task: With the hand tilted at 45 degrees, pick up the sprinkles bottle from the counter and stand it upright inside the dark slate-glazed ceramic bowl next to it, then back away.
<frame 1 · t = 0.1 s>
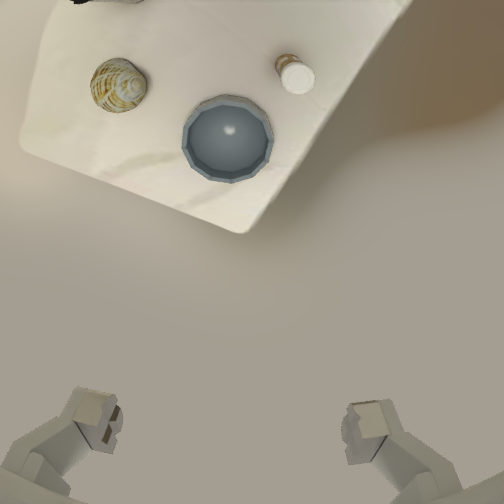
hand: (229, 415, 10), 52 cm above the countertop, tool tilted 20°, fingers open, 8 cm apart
sprinkles bottle: (288, 65, 46), on the countertop
slate bowl: (228, 135, 55), on the countertop
seashell: (125, 81, 48), on the countertop
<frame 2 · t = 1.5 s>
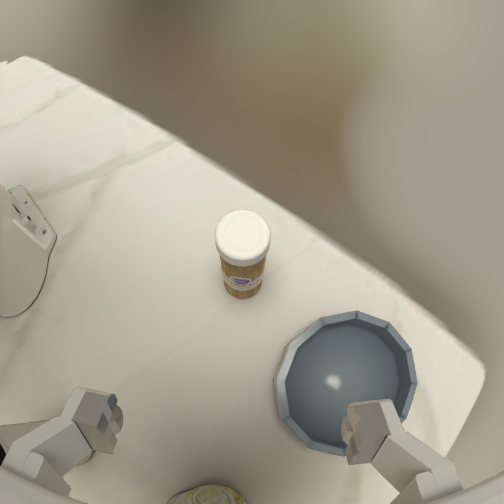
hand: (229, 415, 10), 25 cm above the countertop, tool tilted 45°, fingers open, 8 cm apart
sprinkles bottle: (243, 281, 38), on the countertop
slate bowl: (341, 383, 33), on the countertop
travel mug: (76, 440, 30), on the countertop
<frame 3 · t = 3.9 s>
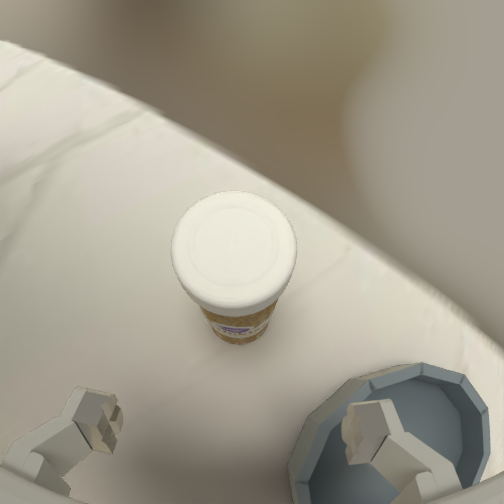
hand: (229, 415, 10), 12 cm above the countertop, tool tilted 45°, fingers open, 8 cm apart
sprinkles bottle: (239, 315, 24), on the countertop
slate bowl: (387, 461, 19), on the countertop
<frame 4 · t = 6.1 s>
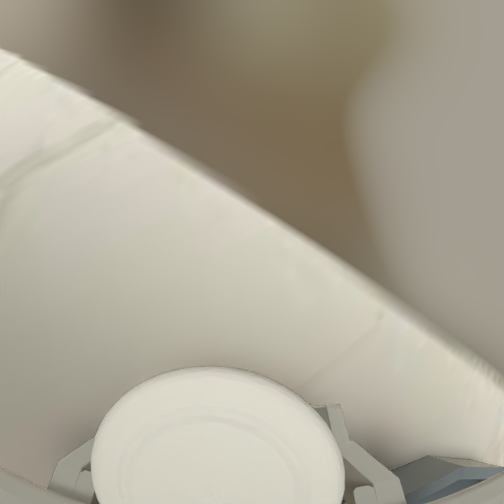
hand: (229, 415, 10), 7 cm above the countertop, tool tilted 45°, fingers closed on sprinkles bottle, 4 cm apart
sprinkles bottle: (236, 409, 16), on the countertop, touching gripper
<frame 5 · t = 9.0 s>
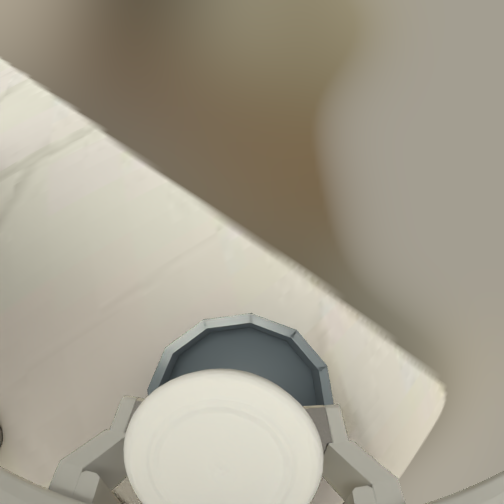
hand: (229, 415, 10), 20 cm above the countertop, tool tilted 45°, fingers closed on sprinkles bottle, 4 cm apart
sprinkles bottle: (237, 404, 18), point 11 cm above the countertop, touching gripper
slate bowl: (240, 400, 28), on the countertop
when the fingers open (10 cm above the countertop, at t = 11.8 s): sprinkles bottle stays where it is, resting on slate bowl.
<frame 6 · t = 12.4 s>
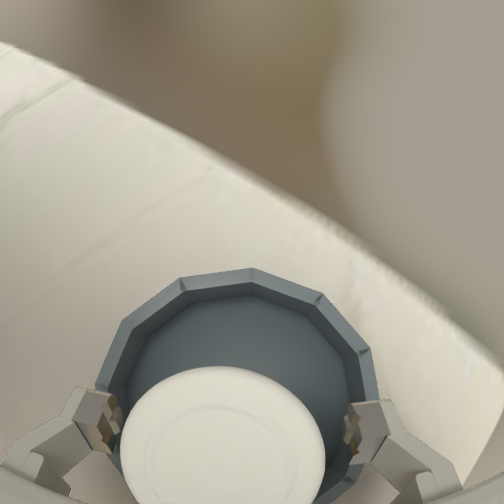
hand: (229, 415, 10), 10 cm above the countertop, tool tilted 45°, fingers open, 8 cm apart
sprinkles bottle: (237, 406, 18), point 1 cm above the countertop, touching slate bowl
slate bowl: (238, 405, 19), on the countertop
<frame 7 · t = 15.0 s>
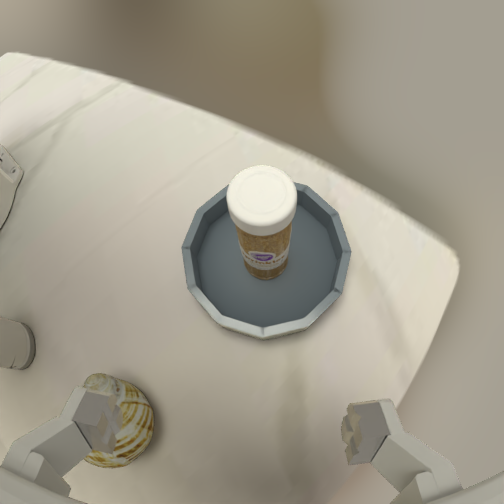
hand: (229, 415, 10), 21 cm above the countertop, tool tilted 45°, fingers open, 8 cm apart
sprinkles bottle: (266, 259, 33), point 1 cm above the countertop, touching slate bowl
slate bowl: (266, 262, 33), on the countertop
seashell: (121, 418, 29), on the countertop
travel mug: (22, 346, 32), on the countertop
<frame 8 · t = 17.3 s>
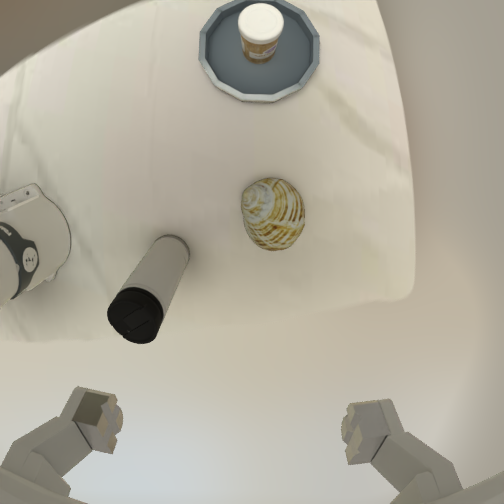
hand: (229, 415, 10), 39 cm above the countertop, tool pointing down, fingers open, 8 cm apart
sprinkles bottle: (258, 50, 37), point 1 cm above the countertop, touching slate bowl
slate bowl: (259, 51, 38), on the countertop
seashell: (269, 208, 47), on the countertop
travel mug: (172, 251, 50), on the countertop
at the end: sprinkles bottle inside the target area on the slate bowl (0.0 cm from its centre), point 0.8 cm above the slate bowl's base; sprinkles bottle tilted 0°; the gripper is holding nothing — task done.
